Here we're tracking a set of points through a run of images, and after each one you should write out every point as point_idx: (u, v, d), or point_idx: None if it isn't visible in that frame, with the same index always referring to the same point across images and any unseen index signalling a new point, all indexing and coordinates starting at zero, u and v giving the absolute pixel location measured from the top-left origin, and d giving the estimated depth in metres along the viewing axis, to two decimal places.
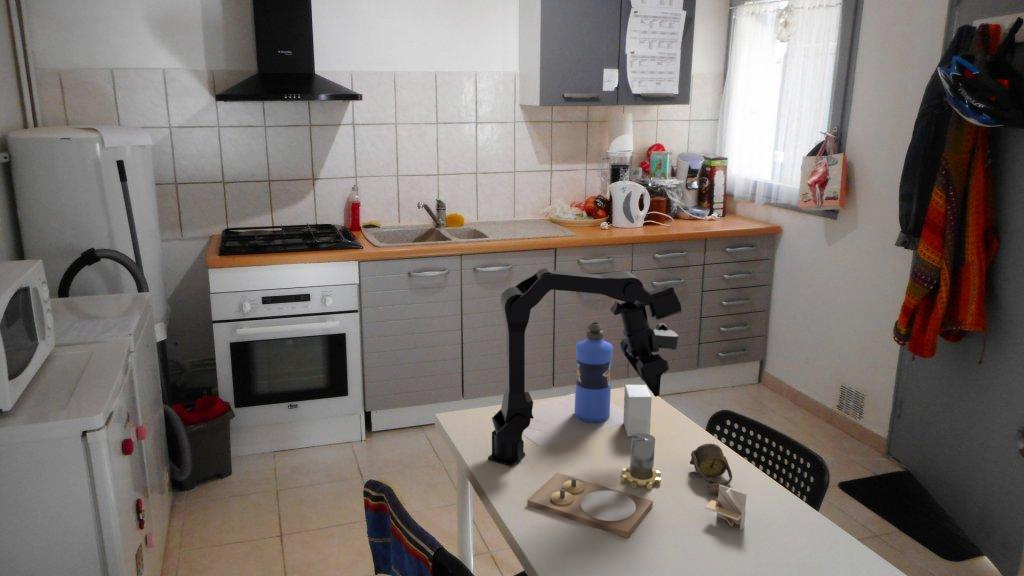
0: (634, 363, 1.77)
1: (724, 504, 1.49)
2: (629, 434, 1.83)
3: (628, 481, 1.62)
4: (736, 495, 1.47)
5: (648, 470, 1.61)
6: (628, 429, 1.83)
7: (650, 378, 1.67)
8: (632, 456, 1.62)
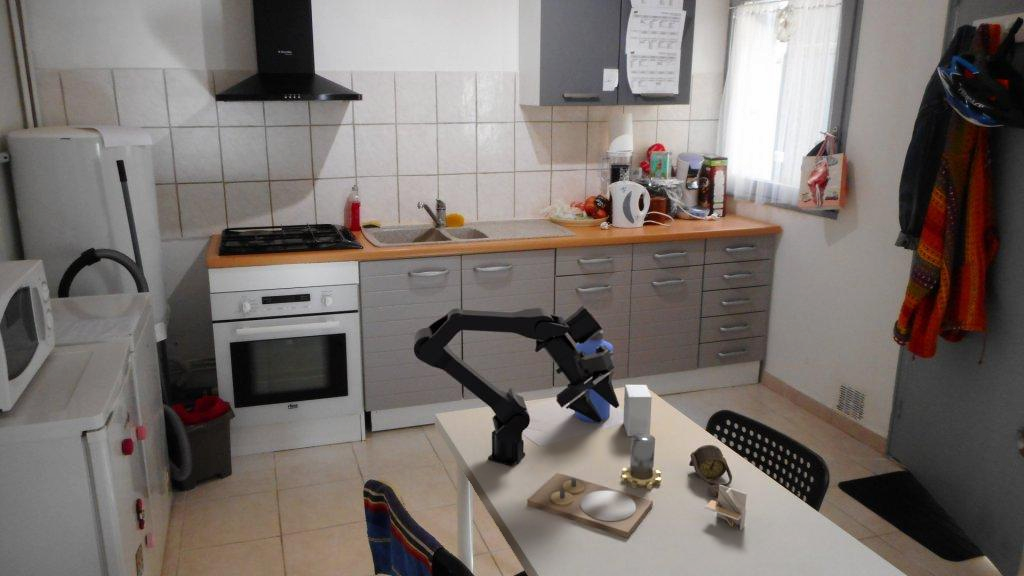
0: (600, 392, 1.70)
1: (724, 504, 1.49)
2: (629, 434, 1.83)
3: (628, 481, 1.62)
4: (736, 495, 1.47)
5: (648, 470, 1.61)
6: (628, 429, 1.83)
7: (581, 406, 1.61)
8: (632, 456, 1.62)
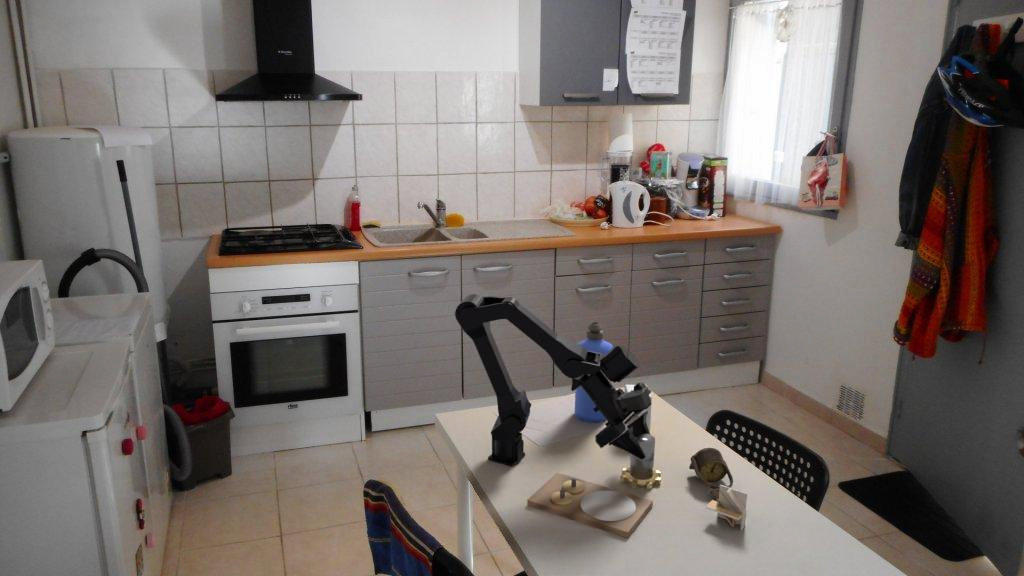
0: (634, 432, 1.66)
1: (725, 504, 1.49)
2: None
3: (628, 481, 1.62)
4: (737, 495, 1.47)
5: (648, 470, 1.61)
6: None
7: (623, 442, 1.60)
8: (632, 456, 1.62)
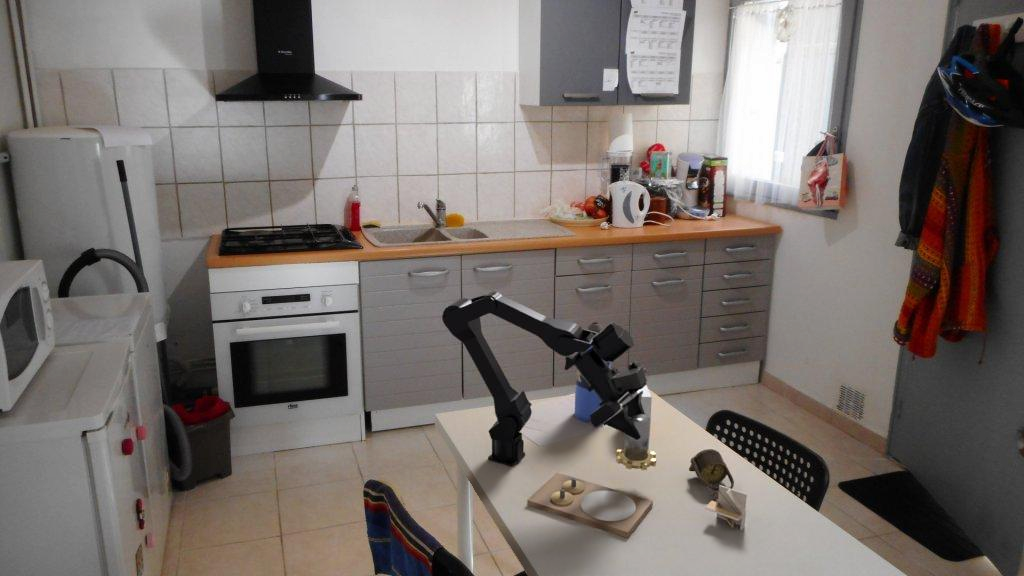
0: (629, 412, 1.62)
1: (724, 504, 1.48)
2: None
3: (623, 462, 1.58)
4: (736, 495, 1.46)
5: (643, 451, 1.57)
6: None
7: (618, 422, 1.56)
8: (627, 437, 1.58)
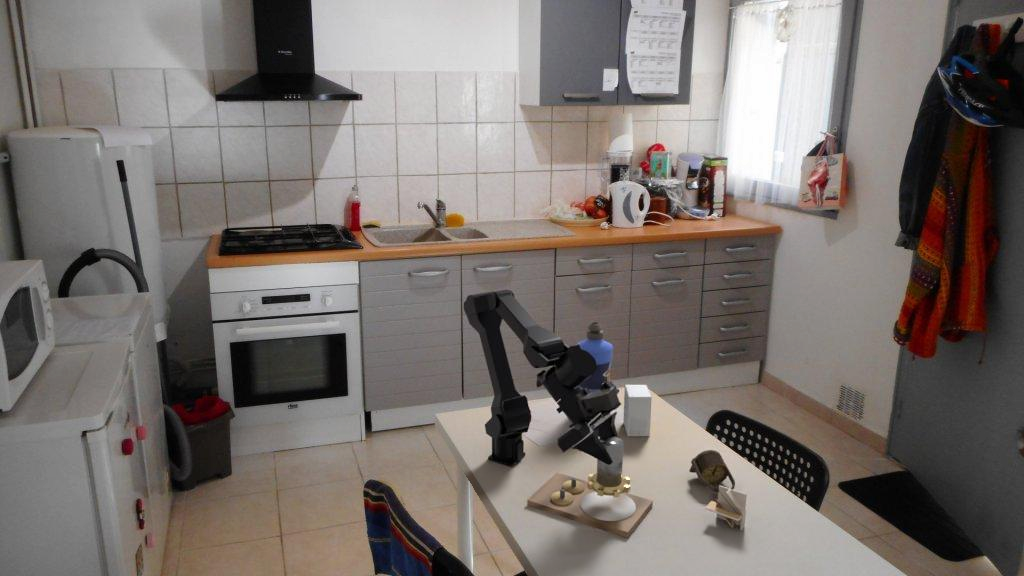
0: (601, 435, 1.52)
1: (724, 505, 1.48)
2: (629, 434, 1.83)
3: (594, 488, 1.49)
4: (736, 496, 1.46)
5: (615, 477, 1.47)
6: (628, 429, 1.83)
7: (589, 446, 1.46)
8: (599, 461, 1.48)
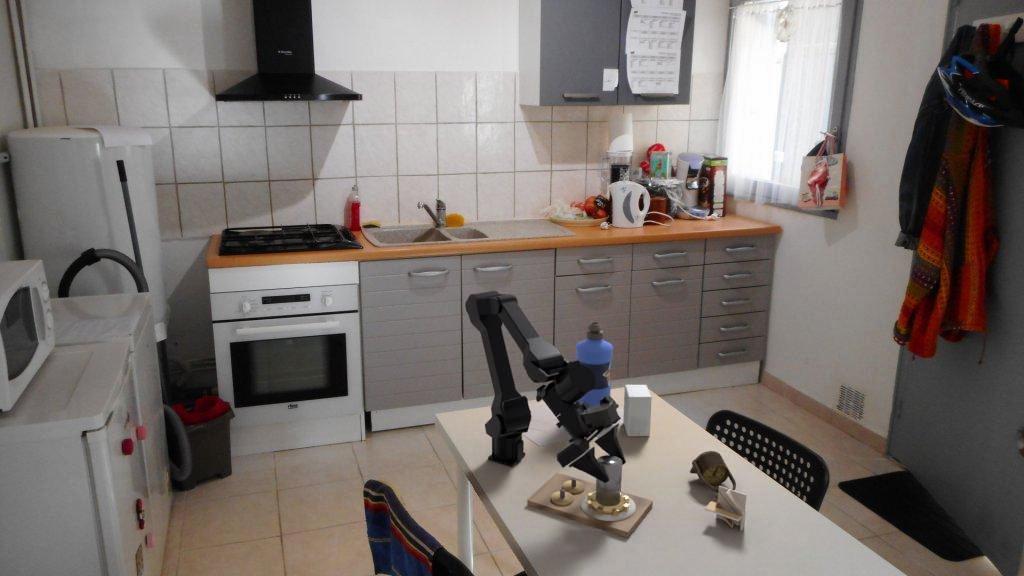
0: (604, 446, 1.54)
1: (724, 505, 1.48)
2: (629, 434, 1.83)
3: (593, 508, 1.50)
4: (736, 496, 1.46)
5: (614, 496, 1.48)
6: (628, 429, 1.83)
7: (585, 464, 1.46)
8: (598, 481, 1.49)
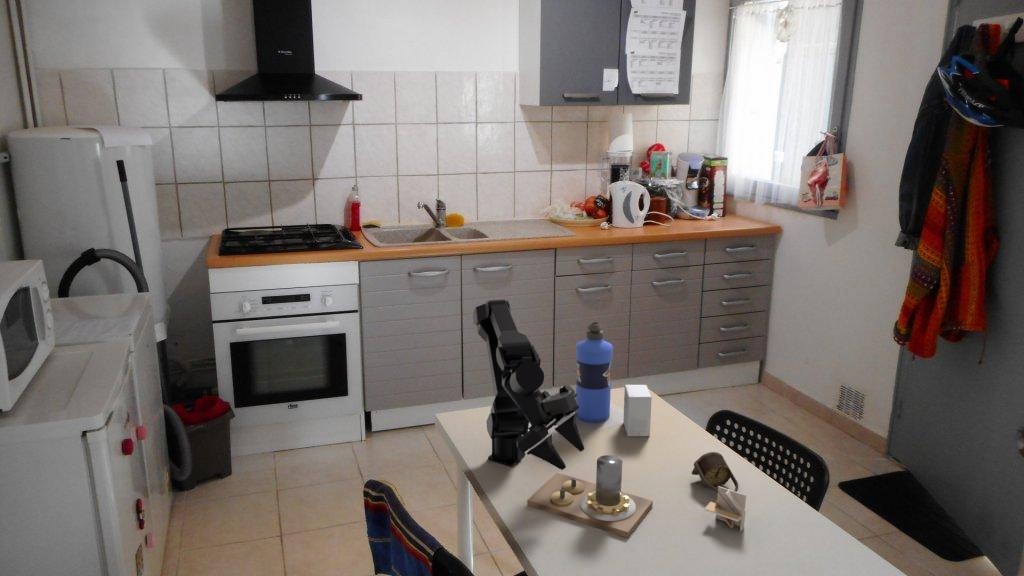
0: (564, 433, 1.59)
1: (723, 506, 1.48)
2: (629, 434, 1.83)
3: (593, 508, 1.50)
4: (735, 496, 1.46)
5: (614, 496, 1.48)
6: (628, 429, 1.83)
7: (543, 451, 1.50)
8: (598, 481, 1.49)
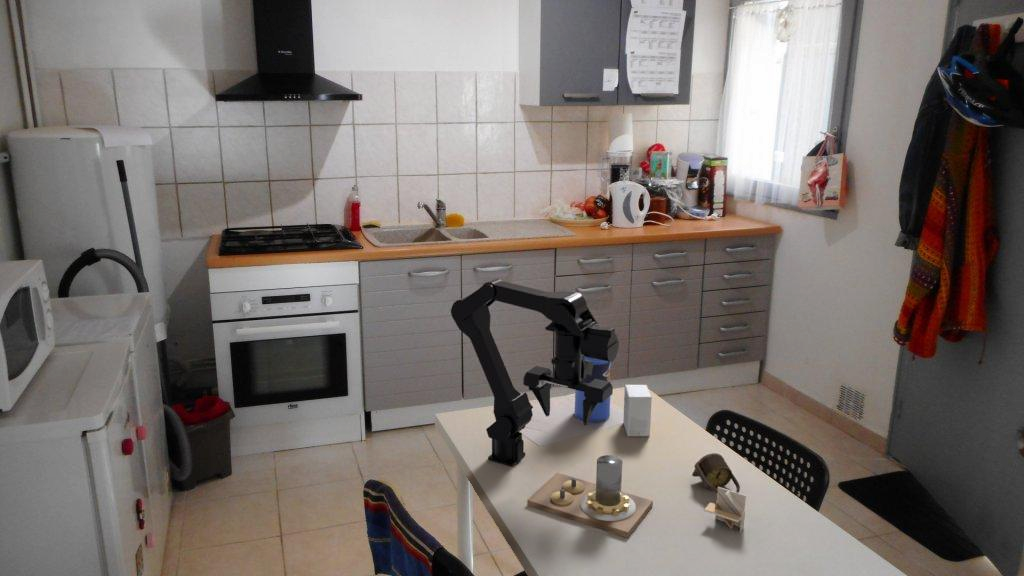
0: (543, 396, 1.62)
1: (723, 506, 1.48)
2: (629, 434, 1.83)
3: (593, 508, 1.50)
4: (735, 497, 1.46)
5: (614, 496, 1.48)
6: (628, 429, 1.83)
7: None
8: (598, 481, 1.49)
